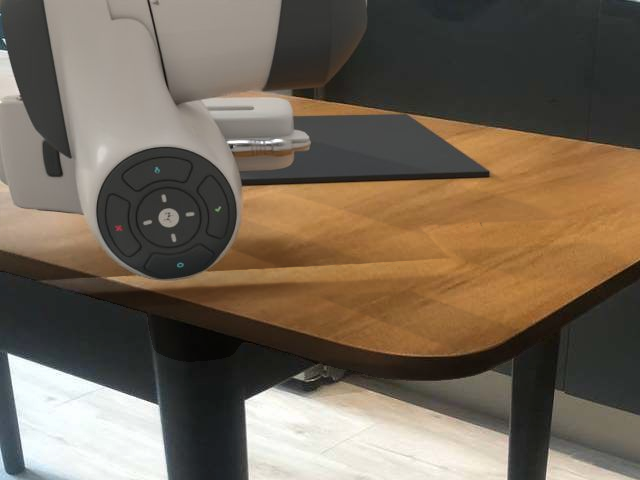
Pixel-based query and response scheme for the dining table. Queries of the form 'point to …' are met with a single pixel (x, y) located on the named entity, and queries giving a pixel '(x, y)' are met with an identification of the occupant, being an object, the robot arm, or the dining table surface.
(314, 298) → the dining table surface
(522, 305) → the dining table surface
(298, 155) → the mat
